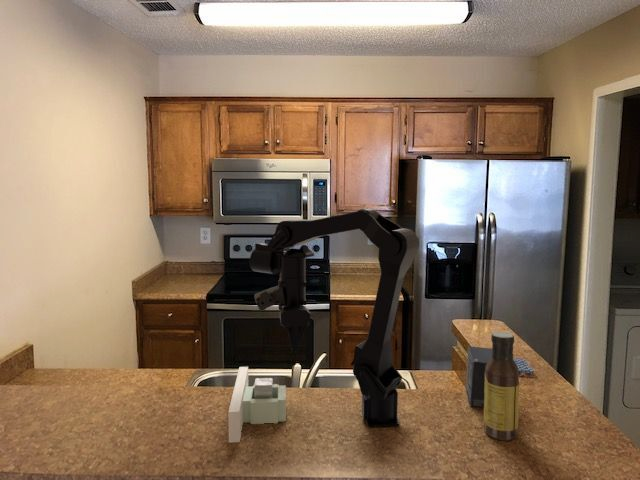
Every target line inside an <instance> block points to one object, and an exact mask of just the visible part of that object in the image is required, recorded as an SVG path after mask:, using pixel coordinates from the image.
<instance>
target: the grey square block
mask: <svg viewBox="0 0 640 480" xmlns="http://www.w3.org/2000/svg"><path fill="white" fill-rule="evenodd" d="M273 382H274V380H273V377H264V378H263V377H262V378H258V377H257V378H255V379H254V384H253V385H254V391H255V399H273V384H274V383H273Z"/></svg>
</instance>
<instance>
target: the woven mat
mask: <svg viewBox="0 0 640 480" xmlns="http://www.w3.org/2000/svg"><path fill="white" fill-rule="evenodd" d="M513 360H514V362H515V363H516V365H517V367H518V369H519V377H525V378H526V377H528V378H536V377H537V376H536V375H535V374H536V371H535V370H534V369H533V367H531V365H530V364H529V362H527V360H526V359H525V358H521V357H518V358H517V357H515V356H513Z"/></svg>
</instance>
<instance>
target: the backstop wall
mask: <svg viewBox="0 0 640 480" xmlns="http://www.w3.org/2000/svg"><path fill="white" fill-rule="evenodd" d="M248 386H249V366H239V368H238V372H237V375H236V380H235V383H234V387H233V391H232V396H231V399H230V404H229V407H228V412H227V413H228V418H227V419H228V443H231V444H232V443H240V441H241V436H242V432H241V431H243V430H242V429H243V426H242V425H244V422H243V398H244V393H245V388H246V387H248Z"/></svg>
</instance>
